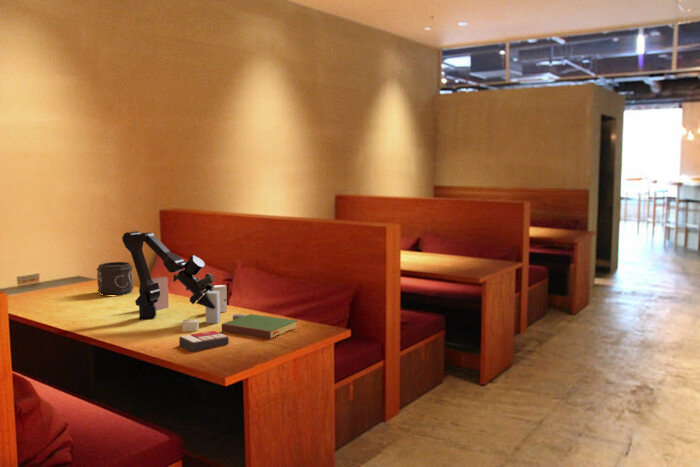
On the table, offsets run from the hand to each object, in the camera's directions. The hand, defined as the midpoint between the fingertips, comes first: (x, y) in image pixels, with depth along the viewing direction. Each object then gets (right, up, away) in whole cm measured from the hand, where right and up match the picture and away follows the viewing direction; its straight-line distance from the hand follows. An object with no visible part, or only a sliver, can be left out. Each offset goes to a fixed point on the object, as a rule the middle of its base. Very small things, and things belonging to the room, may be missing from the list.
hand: (216, 306), depth 263 cm
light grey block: (-1, -7, +1) cm, 7 cm away
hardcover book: (+21, -9, -13) cm, 26 cm away
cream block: (-8, -8, -12) cm, 17 cm away
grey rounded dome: (+10, -7, 0) cm, 12 cm away
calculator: (+3, -11, -33) cm, 35 cm away
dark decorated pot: (-67, 0, +63) cm, 92 cm away
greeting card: (-34, -4, +24) cm, 41 cm away
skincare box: (-3, -5, +20) cm, 20 cm away
